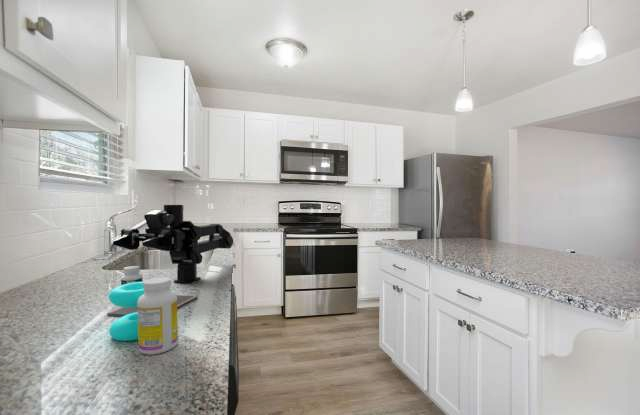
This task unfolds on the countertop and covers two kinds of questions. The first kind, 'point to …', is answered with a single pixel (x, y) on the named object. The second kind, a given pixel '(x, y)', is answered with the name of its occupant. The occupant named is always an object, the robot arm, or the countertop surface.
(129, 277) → the pill bottle
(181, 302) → the mat
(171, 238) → the robot arm
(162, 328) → the supplement bottle
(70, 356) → the countertop surface
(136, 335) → the donuts
